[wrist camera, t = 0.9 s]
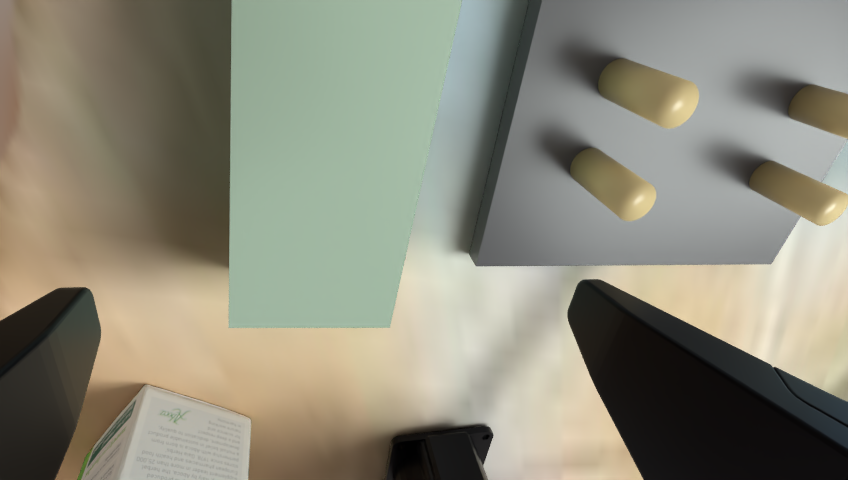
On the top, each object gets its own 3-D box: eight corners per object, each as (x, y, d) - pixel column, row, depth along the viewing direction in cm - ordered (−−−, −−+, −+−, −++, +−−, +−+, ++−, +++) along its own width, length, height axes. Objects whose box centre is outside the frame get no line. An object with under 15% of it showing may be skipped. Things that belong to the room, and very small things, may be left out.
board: (374, 270, 22) (389, 327, 19) (238, 265, 21) (228, 327, 17) (440, -80, 16) (480, -85, 12) (246, -134, 14) (233, -157, 11)
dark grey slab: (757, 254, 28) (829, 302, 24) (469, 254, 23) (504, 315, 19) (916, -14, 21) (1052, -5, 17) (553, -101, 16) (634, -113, 12)
